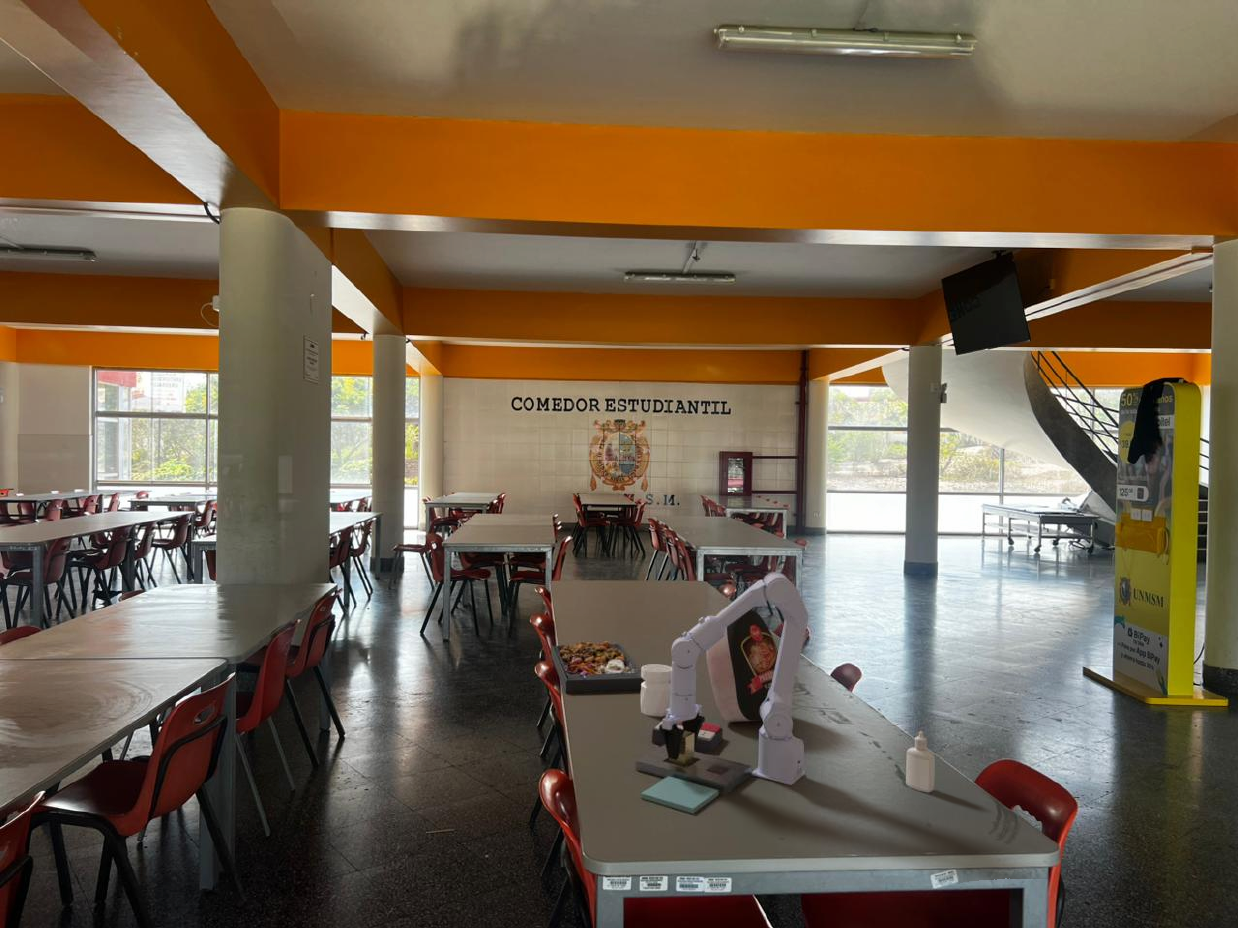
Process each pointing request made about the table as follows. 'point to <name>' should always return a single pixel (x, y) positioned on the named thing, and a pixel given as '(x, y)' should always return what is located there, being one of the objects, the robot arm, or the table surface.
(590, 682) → the food platter
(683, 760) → the wooden block
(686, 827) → the table surface
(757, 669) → the packaged food
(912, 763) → the eye dropper bottle
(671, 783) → the pad
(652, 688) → the white jar
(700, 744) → the calculator
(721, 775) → the grey square-hole board
